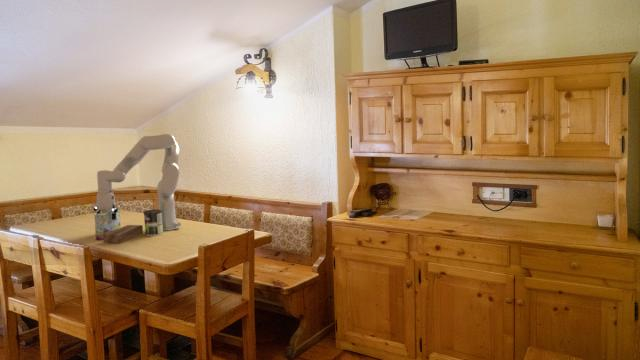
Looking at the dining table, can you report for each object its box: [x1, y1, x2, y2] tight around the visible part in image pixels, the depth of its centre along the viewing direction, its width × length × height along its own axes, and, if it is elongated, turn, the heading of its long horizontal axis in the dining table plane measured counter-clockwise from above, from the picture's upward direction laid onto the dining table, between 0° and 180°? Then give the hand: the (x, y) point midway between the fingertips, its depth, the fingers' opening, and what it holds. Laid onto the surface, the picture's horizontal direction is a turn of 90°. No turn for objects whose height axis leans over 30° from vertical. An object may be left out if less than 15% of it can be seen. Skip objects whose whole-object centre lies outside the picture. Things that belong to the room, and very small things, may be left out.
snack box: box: [94, 208, 122, 241], centre depth 273 cm, size 21×6×15 cm, turn 179°
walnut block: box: [103, 224, 144, 245], centre depth 266 cm, size 10×24×5 cm, turn 171°
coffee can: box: [143, 209, 164, 237], centre depth 275 cm, size 10×10×14 cm
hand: (106, 219), depth 272 cm, fingers open, 9 cm apart
